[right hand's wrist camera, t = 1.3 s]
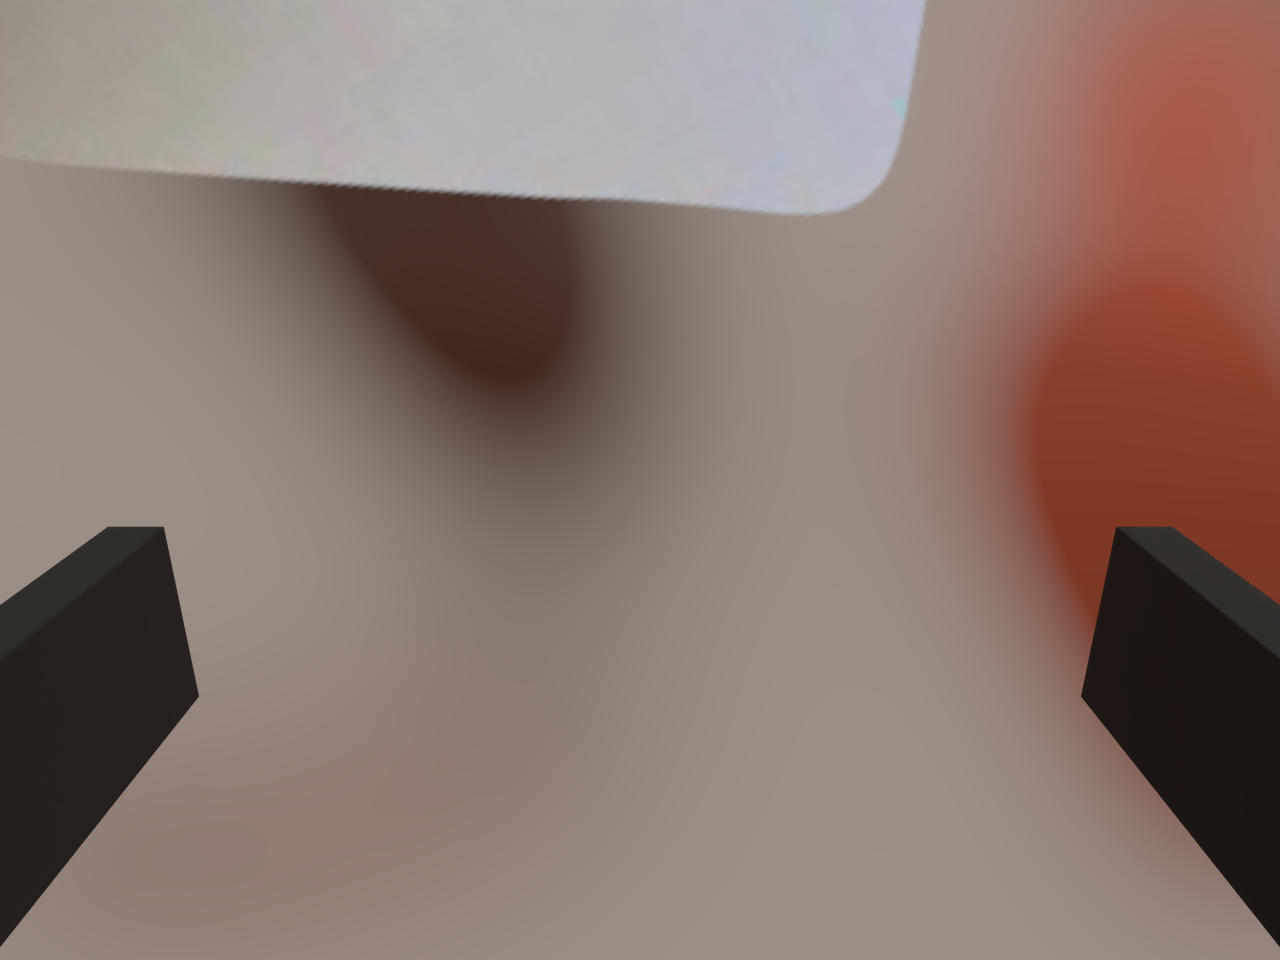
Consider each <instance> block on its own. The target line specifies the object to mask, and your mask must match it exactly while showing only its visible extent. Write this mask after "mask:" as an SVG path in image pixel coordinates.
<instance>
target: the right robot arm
mask: <svg viewBox="0 0 1280 960" xmlns="http://www.w3.org/2000/svg"><path fill="white" fill-rule="evenodd" d="M198 697H199V694H198V689H197V685H196V680H195V675H194V670H193V666H192V661H191V656H190V651H189V646H188V641H187V637H186V632H185V627H184V622H183V617H182V613H181V608H180V603H179V598H178V593H177V588H176V584H175V579H174V574H173V569H172V565H171V560H170V555H169V550H168V545H167V540H166V536H165V531H164V527H107V528H106V529H104V530H103V531H102V532H100V533H99V534H98V535H96V536H95V537H93V538H92V539H91V540H89V541H88V542H86V543H85V544H84V545H82V546H81V547H80V548H78V549H77V550H75V551H74V552H73V553H71V554H70V555H69V556H67V557H66V558H64V559H63V560H62V561H60V562H59V563H58V564H56V565H55V566H53V567H52V568H51V569H49V570H48V571H46V572H45V573H44V574H42V575H41V576H40V577H38V578H37V579H35V580H34V581H33V582H31V583H30V584H29V585H27V586H26V587H24V588H23V589H22V590H20V591H19V592H18V593H16V594H15V595H13V596H12V597H11V598H9V599H8V600H7V601H5V602H4V603H3V604H1V605H0V947H1V945H2V944H3V943H4V942H5V940H6V939H7V938H8V936H9V935H10V934H11V933H12V931H13V930H14V929H15V928H16V926H17V925H18V924H19V923H20V921H21V920H22V919H23V918H24V916H25V915H26V914H27V912H28V911H29V910H30V909H31V907H32V906H33V905H34V904H35V902H36V901H37V900H38V899H39V897H40V896H41V895H42V894H43V892H44V891H45V890H46V889H47V887H48V886H49V885H50V884H51V882H52V881H53V880H54V878H55V877H56V876H57V875H58V873H59V872H60V871H61V870H62V868H63V867H64V866H65V865H66V863H67V862H68V861H69V860H70V858H71V857H72V856H73V855H74V853H75V852H76V851H77V850H78V848H79V847H80V846H81V844H82V843H83V842H84V841H85V839H86V838H87V837H88V836H89V834H90V833H91V832H92V831H93V829H94V828H95V827H96V825H97V824H98V823H99V822H100V821H101V819H102V818H103V817H104V815H105V814H106V813H107V812H108V810H109V809H110V808H111V807H112V805H113V804H114V803H115V802H116V800H117V799H118V798H119V796H120V795H121V794H122V793H123V791H124V790H125V789H126V788H127V787H128V785H129V784H130V783H131V781H132V780H133V779H134V778H135V776H136V775H137V774H138V773H139V771H140V770H141V769H142V768H143V766H144V765H145V764H146V763H147V761H148V760H149V759H150V758H151V756H152V755H153V754H154V752H155V751H156V750H157V749H158V747H159V746H160V745H161V744H162V742H163V741H164V740H165V739H166V737H167V736H168V735H169V734H170V732H171V731H172V730H173V729H174V727H175V726H176V725H177V723H178V722H179V721H180V720H181V718H182V717H183V716H184V715H185V713H186V712H187V711H188V710H189V708H190V707H191V706H192V705H193V703H194V702H195V701H196V699H197V698H198ZM1081 697H1082V698H1083V700H1084V701H1085V702H1086V703H1087V705H1088V706H1089V707H1090V708H1091V710H1092V711H1093V712H1094V713H1095V715H1096V716H1097V717H1098V718H1099V720H1100V721H1101V722H1102V723H1103V725H1104V726H1105V727H1106V729H1107V730H1108V731H1109V732H1110V734H1111V735H1112V736H1113V737H1114V739H1115V740H1116V741H1117V742H1118V744H1119V745H1120V746H1121V747H1122V749H1123V750H1124V751H1125V752H1126V754H1127V755H1128V756H1129V758H1130V759H1131V760H1132V761H1133V763H1134V764H1135V765H1136V766H1137V768H1138V769H1139V770H1140V771H1141V773H1142V774H1143V775H1144V776H1145V778H1146V779H1147V780H1148V781H1149V783H1150V784H1151V785H1152V786H1153V788H1154V789H1155V790H1156V792H1157V793H1158V794H1159V795H1160V797H1161V798H1162V799H1163V800H1164V802H1165V803H1166V804H1167V805H1168V807H1169V808H1170V809H1171V810H1172V812H1173V813H1174V814H1175V815H1176V817H1177V818H1178V819H1179V821H1180V822H1181V823H1182V824H1183V826H1184V827H1185V828H1186V829H1187V831H1188V832H1189V833H1190V834H1191V836H1192V837H1193V838H1194V839H1195V841H1196V842H1197V843H1198V844H1199V846H1200V847H1201V848H1202V850H1203V851H1204V852H1205V853H1206V855H1207V856H1208V857H1209V858H1210V860H1211V861H1212V862H1213V863H1214V865H1215V866H1216V867H1217V868H1218V870H1219V871H1220V872H1221V873H1222V875H1223V876H1224V877H1225V878H1226V880H1227V881H1228V882H1229V884H1230V885H1231V886H1232V887H1233V889H1234V890H1235V891H1236V892H1237V894H1238V895H1239V896H1240V897H1241V899H1242V900H1243V901H1244V902H1245V904H1246V905H1247V906H1248V908H1249V909H1250V910H1251V911H1252V913H1253V914H1254V915H1255V916H1256V918H1257V919H1258V920H1259V921H1260V923H1261V924H1262V925H1263V926H1264V928H1265V929H1266V930H1267V931H1268V933H1269V934H1270V935H1271V936H1272V938H1273V939H1274V940H1275V942H1276V943H1277V944H1278V945H1279V947H1280V605H1279V604H1278V603H1276V602H1275V601H1273V600H1272V599H1271V598H1269V597H1268V596H1266V595H1265V594H1264V593H1262V592H1261V591H1260V590H1258V589H1257V588H1256V587H1254V586H1253V585H1251V584H1250V583H1249V582H1247V581H1246V580H1245V579H1243V578H1242V577H1240V576H1239V575H1238V574H1236V573H1235V572H1234V571H1232V570H1231V569H1229V568H1228V567H1227V566H1225V565H1224V564H1223V563H1221V562H1220V561H1218V560H1217V559H1215V558H1214V557H1213V556H1211V555H1210V554H1209V553H1207V552H1206V551H1204V550H1203V549H1202V548H1200V547H1199V546H1198V545H1196V544H1195V543H1194V542H1192V541H1191V540H1189V539H1188V538H1187V537H1185V536H1184V535H1183V534H1181V533H1180V532H1178V531H1177V530H1176V529H1174V528H1173V527H1116V531H1115V536H1114V540H1113V545H1112V550H1111V555H1110V560H1109V564H1108V569H1107V574H1106V579H1105V584H1104V589H1103V593H1102V598H1101V603H1100V608H1099V613H1098V617H1097V622H1096V627H1095V632H1094V637H1093V641H1092V646H1091V651H1090V656H1089V661H1088V665H1087V670H1086V675H1085V680H1084V685H1083V689H1082V695H1081Z"/></svg>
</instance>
